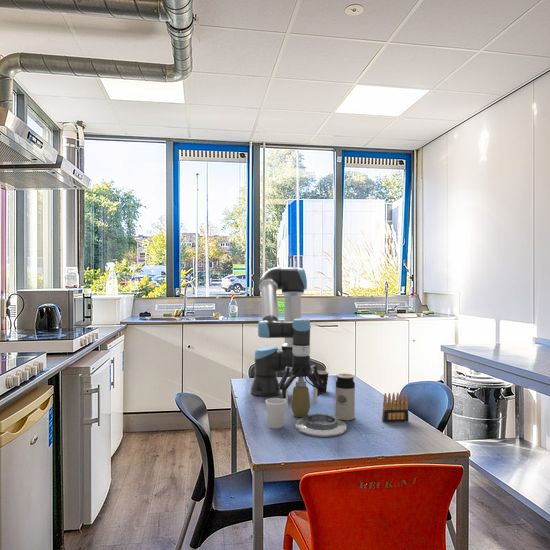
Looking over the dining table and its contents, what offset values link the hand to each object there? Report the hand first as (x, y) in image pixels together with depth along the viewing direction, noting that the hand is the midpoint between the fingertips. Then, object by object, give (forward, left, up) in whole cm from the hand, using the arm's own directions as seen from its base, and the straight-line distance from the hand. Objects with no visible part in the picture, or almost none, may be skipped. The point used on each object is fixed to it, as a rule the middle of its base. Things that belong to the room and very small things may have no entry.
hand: (300, 404), depth 188 cm
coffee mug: (-36, +23, -5) cm, 43 cm away
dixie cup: (+10, -14, -5) cm, 18 cm away
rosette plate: (+17, +2, -5) cm, 18 cm away
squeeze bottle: (0, 0, -5) cm, 5 cm away
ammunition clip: (+18, +35, -5) cm, 40 cm away
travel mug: (+8, +17, -5) cm, 19 cm away
